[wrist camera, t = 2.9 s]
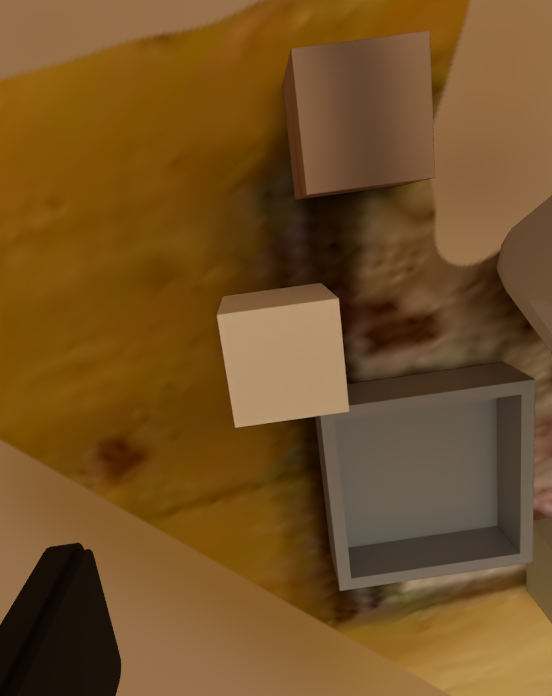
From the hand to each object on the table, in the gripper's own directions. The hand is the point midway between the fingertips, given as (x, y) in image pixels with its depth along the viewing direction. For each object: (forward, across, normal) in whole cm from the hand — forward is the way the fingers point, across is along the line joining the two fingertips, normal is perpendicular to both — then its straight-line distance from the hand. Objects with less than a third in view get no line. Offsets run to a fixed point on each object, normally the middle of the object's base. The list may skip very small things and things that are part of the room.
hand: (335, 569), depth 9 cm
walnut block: (+21, -5, -11) cm, 24 cm away
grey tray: (+21, -8, +10) cm, 25 cm away
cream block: (+21, 0, 0) cm, 21 cm away
